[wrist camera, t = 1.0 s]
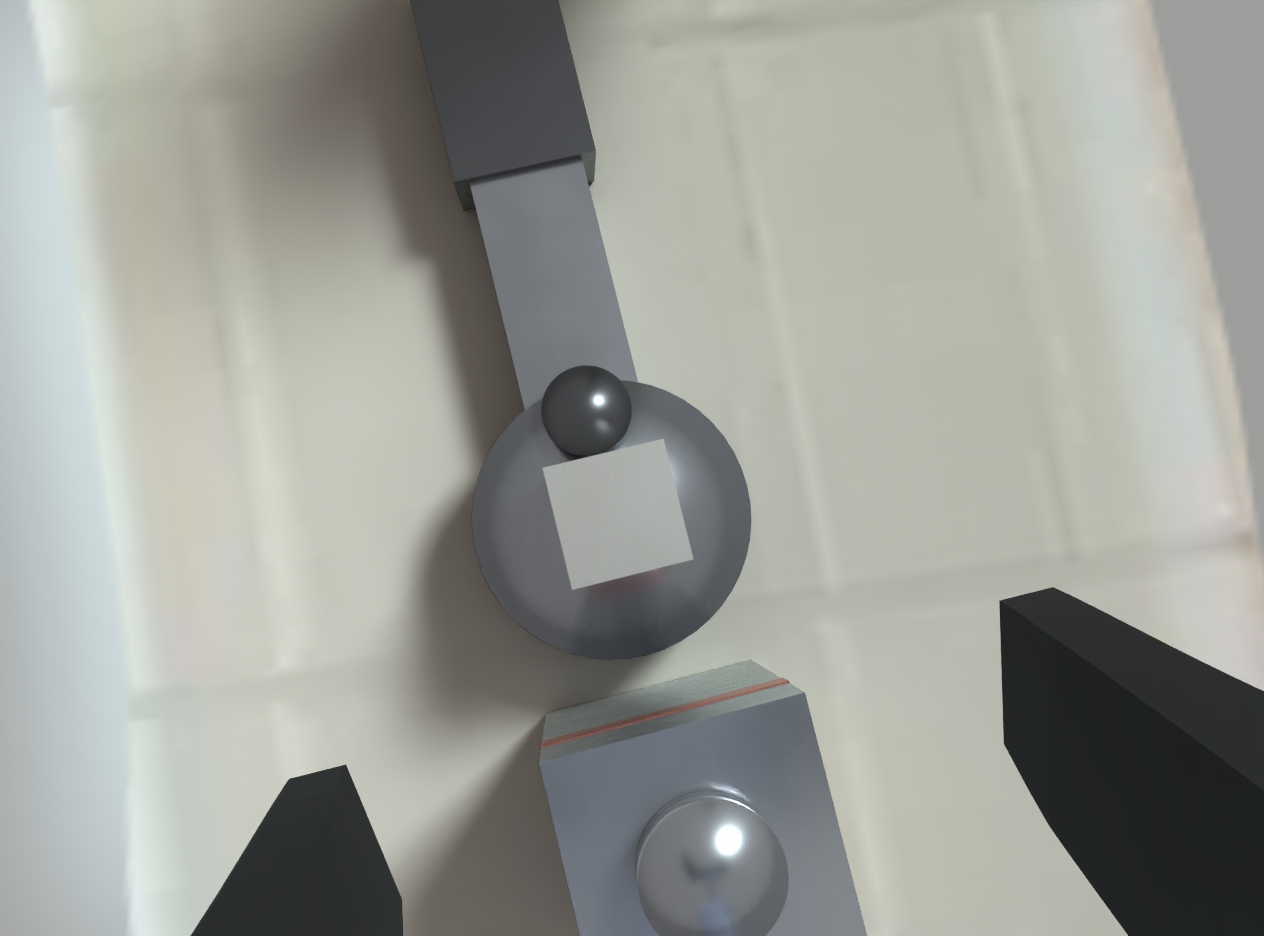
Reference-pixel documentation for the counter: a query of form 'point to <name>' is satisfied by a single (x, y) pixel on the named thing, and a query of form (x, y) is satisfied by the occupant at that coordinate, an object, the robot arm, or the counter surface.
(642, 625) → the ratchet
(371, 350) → the counter surface
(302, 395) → the counter surface
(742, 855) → the striped cube with knob
